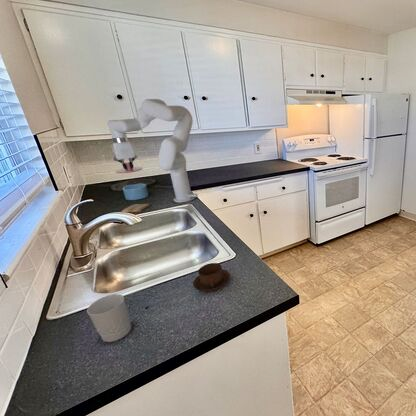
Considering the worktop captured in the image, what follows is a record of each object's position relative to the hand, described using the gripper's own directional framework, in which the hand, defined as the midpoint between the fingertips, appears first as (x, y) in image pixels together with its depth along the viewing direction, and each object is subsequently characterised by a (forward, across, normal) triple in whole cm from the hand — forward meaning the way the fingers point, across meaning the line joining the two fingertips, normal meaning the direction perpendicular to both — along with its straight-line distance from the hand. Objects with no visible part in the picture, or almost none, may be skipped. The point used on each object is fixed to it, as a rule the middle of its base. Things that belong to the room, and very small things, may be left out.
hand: (128, 168), depth 176 cm
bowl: (+21, +1, +5) cm, 21 cm away
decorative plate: (+21, +8, +39) cm, 45 cm away
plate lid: (+1, 0, 0) cm, 1 cm away
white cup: (+22, -40, -130) cm, 138 cm away
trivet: (+21, -6, -22) cm, 31 cm away
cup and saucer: (+22, -12, -129) cm, 132 cm away
